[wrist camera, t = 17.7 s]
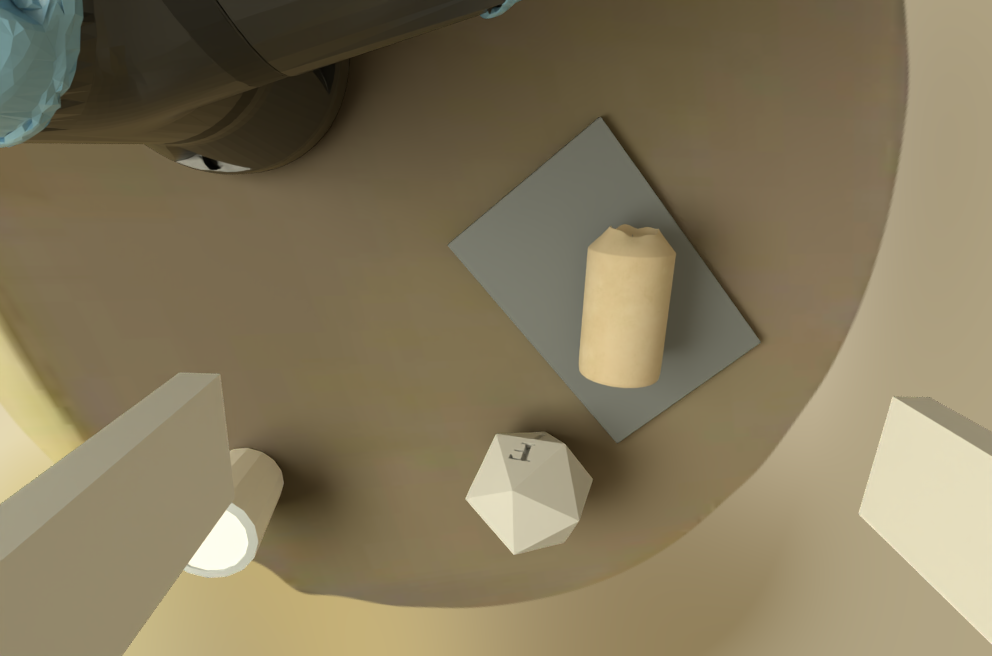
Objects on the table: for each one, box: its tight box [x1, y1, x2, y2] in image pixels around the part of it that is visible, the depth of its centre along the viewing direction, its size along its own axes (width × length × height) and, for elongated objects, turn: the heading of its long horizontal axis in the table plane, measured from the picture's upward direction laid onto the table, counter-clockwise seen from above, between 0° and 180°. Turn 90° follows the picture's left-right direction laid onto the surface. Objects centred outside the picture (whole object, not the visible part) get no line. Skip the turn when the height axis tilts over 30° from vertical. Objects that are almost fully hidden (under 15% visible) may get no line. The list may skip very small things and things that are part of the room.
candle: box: [579, 224, 676, 388], centre depth 36 cm, size 6×6×10 cm
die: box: [465, 431, 593, 555], centre depth 40 cm, size 8×9×10 cm
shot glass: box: [184, 448, 284, 578], centre depth 41 cm, size 7×7×7 cm
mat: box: [448, 117, 761, 443], centre depth 39 cm, size 20×13×1 cm, turn 39°
